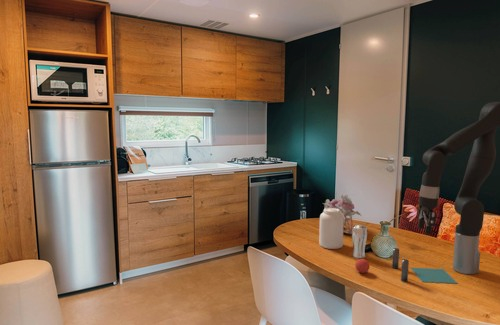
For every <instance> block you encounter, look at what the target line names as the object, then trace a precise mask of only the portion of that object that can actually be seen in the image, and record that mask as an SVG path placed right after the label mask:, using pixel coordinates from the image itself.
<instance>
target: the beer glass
mask: <svg viewBox="0 0 500 325" xmlns="http://www.w3.org/2000/svg"><path fill="white" fill-rule="evenodd" d="M367 238H368V228H367V226H366V225H362V224H355V225H353V227H352V234H351V241H352V246H353V249H352V254H351V256H352V257H353V258H355V259H365V258H366V253H365V248H366V244H367Z"/></svg>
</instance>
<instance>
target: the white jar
mask: <svg viewBox="0 0 500 325" xmlns="http://www.w3.org/2000/svg"><path fill="white" fill-rule="evenodd" d="M324 208H325V207H324ZM344 220H345V217H344V215H343V213H341V211H340V209H338V208H337V209H336V208H325V209H323V211H322V213H320V215H319V232H318V233H319V234H318V244H319V246H320V247H322V248H325V249H330V250H336V249H341V248H342V247H343V245H344V232H343V230H344V227H343V226H344V225H343V222H344Z"/></svg>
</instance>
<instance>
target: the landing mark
mask: <svg viewBox="0 0 500 325" xmlns="http://www.w3.org/2000/svg"><path fill="white" fill-rule="evenodd" d="M410 269H411V270H412V272H413V273H414V274H415V275H416V277H418V279H419V280H420V281H421V283H433V284H435V283H436V284H437V283H438V284H454V285H455V284H458V282H457V281H456V280H455V279H454V278H453V277H452V276H451V275H450V274H449V273H448V272H447V271H446V270H445V269H444V268H432V267H431V268H430V267H429V268H427V267H426V268H425V267H410Z"/></svg>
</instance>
